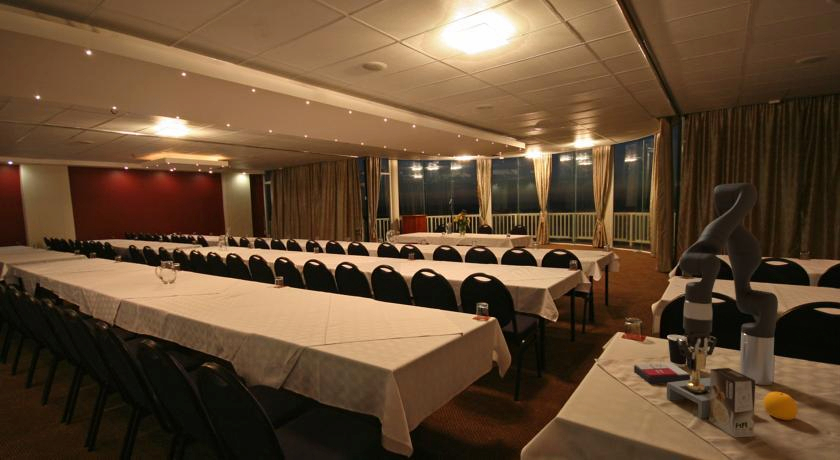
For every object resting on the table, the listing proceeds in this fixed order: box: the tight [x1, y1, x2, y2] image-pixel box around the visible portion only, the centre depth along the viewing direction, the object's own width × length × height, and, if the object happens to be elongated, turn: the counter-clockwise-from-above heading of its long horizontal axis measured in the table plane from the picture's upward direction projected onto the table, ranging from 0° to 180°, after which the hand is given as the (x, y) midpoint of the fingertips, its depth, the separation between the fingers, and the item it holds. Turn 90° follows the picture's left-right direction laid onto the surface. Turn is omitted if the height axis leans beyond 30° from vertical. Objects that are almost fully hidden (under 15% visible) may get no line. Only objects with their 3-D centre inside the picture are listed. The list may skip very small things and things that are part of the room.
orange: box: [762, 391, 799, 421], centre depth 122 cm, size 8×8×8 cm
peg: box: [686, 351, 706, 392], centre depth 128 cm, size 5×5×12 cm
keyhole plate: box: [666, 377, 710, 419], centre depth 130 cm, size 18×13×6 cm
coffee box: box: [708, 367, 756, 438], centre depth 116 cm, size 9×6×16 cm
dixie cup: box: [666, 334, 687, 368], centre depth 163 cm, size 8×8×11 cm
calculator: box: [633, 362, 691, 385], centre depth 151 cm, size 11×4×15 cm
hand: (695, 368), depth 128 cm, fingers closed on peg, 3 cm apart
